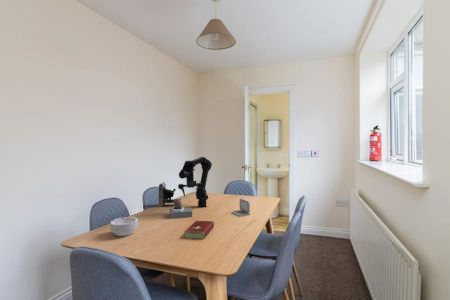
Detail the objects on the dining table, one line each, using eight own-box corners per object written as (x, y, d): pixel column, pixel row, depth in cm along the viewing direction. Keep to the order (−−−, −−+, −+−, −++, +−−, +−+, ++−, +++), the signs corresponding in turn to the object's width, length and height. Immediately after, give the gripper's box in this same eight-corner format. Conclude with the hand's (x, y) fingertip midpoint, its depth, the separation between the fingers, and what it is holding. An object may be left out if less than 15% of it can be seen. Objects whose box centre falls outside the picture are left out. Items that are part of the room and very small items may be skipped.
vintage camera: (176, 207, 212) (176, 183, 212) (158, 206, 212) (158, 183, 212) (178, 204, 221) (179, 182, 221) (161, 204, 222) (161, 182, 222)
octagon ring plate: (190, 212, 192) (190, 205, 192) (192, 216, 180) (192, 209, 180) (169, 214, 189) (169, 206, 189) (169, 218, 177) (169, 210, 177)
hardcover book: (214, 227, 158) (213, 220, 158) (204, 239, 137) (204, 232, 137) (196, 226, 160) (195, 219, 160) (184, 238, 140) (183, 231, 140)
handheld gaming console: (230, 212, 191) (230, 199, 190) (241, 210, 195) (240, 198, 195) (239, 216, 179) (239, 202, 179) (250, 214, 183) (250, 201, 183)
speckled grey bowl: (123, 239, 138) (122, 225, 138) (104, 235, 145) (104, 222, 145) (143, 231, 151) (143, 218, 151) (125, 227, 158) (125, 215, 158)
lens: (181, 209, 187) (180, 198, 187) (181, 210, 182) (181, 200, 182) (174, 209, 186) (173, 199, 186) (174, 211, 181) (174, 200, 181)
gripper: (178, 179, 186) (178, 199, 186) (203, 177, 190) (203, 197, 190) (177, 176, 197) (178, 196, 197) (201, 175, 201) (202, 194, 201)
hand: (190, 196), depth 196 cm, fingers open, 9 cm apart
